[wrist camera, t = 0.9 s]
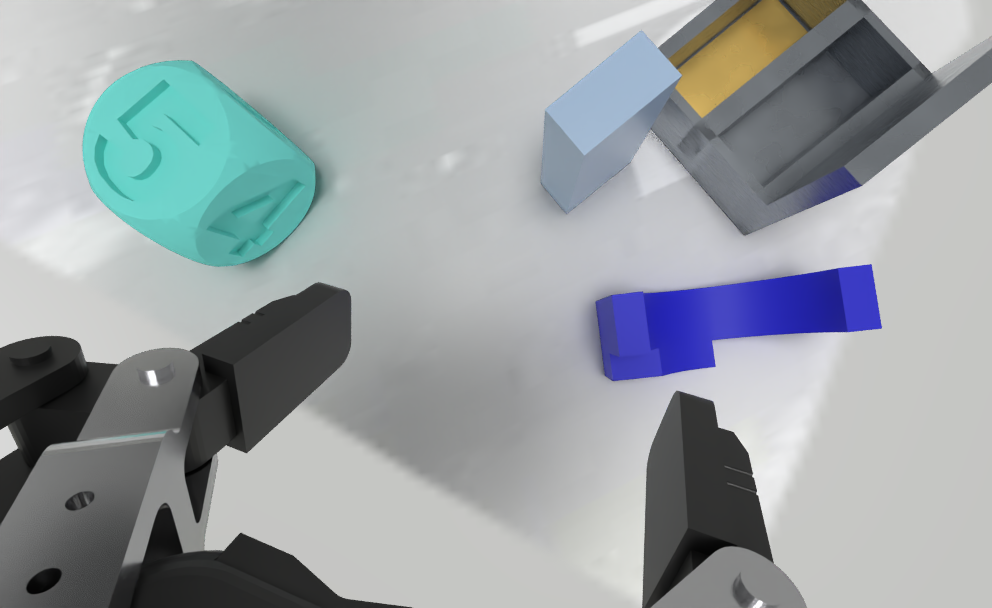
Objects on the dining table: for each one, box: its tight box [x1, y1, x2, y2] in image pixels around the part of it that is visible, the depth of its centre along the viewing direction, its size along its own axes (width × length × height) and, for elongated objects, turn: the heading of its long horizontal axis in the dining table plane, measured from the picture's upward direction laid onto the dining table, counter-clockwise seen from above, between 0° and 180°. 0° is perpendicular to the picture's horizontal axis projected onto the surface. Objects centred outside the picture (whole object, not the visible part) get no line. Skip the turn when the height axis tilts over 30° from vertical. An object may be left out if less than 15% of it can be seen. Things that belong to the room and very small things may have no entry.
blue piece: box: [596, 264, 882, 381], centre depth 25 cm, size 12×4×6 cm, turn 97°
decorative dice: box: [83, 60, 315, 267], centre depth 27 cm, size 8×8×8 cm
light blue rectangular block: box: [541, 30, 682, 214], centre depth 24 cm, size 2×5×10 cm, turn 129°
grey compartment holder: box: [651, 0, 992, 235], centre depth 23 cm, size 11×10×10 cm
